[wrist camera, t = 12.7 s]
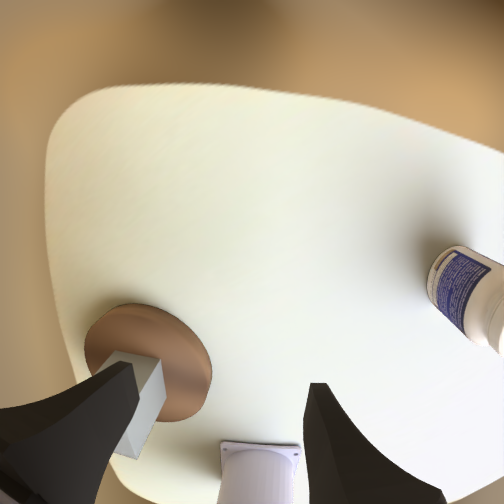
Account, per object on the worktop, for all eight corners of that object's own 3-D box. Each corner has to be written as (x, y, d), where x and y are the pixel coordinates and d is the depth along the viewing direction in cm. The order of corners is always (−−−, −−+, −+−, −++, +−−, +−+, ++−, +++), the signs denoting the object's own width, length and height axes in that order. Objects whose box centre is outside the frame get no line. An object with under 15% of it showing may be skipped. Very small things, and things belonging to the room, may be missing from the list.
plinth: (214, 416, 24) (210, 431, 22) (109, 394, 25) (100, 406, 23) (210, 311, 21) (204, 324, 19) (85, 295, 22) (72, 305, 20)
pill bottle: (424, 314, 20) (480, 380, 11) (425, 250, 19) (498, 296, 10) (474, 300, 19) (537, 352, 11) (478, 239, 18) (554, 274, 10)
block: (166, 397, 22) (136, 459, 15) (124, 387, 22) (87, 442, 15) (160, 359, 20) (122, 421, 14) (115, 350, 21) (69, 404, 14)
